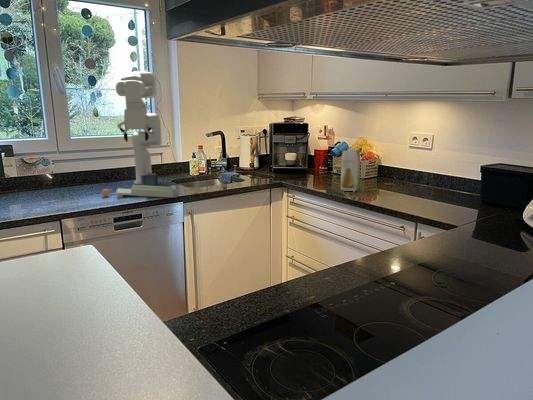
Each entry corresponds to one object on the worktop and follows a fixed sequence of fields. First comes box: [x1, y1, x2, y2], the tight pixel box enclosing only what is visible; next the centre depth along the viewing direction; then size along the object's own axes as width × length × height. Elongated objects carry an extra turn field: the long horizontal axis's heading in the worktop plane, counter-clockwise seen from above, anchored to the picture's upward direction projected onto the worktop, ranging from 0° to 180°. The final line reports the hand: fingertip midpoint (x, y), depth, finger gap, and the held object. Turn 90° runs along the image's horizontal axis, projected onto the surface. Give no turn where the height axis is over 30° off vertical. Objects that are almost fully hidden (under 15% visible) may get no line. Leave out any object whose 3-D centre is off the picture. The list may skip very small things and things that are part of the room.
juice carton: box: [340, 147, 361, 193], centre depth 227 cm, size 9×8×24 cm
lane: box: [115, 184, 178, 199], centre depth 215 cm, size 11×30×6 cm, turn 106°
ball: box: [101, 188, 111, 198], centre depth 210 cm, size 4×4×4 cm
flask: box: [140, 171, 159, 186], centre depth 233 cm, size 9×3×11 cm, turn 109°
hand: (136, 141), depth 206 cm, fingers open, 9 cm apart
